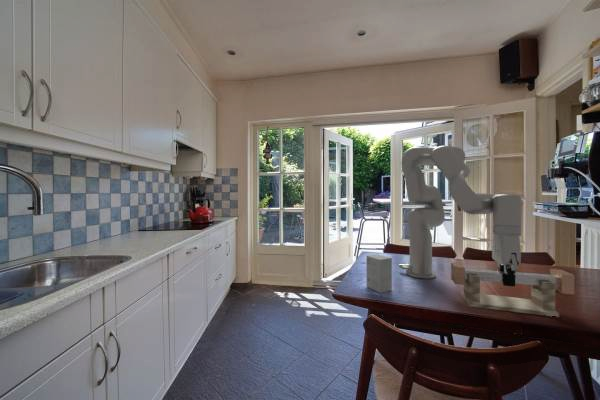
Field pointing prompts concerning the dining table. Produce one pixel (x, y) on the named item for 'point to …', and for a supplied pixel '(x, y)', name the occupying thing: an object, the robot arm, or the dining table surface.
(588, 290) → the dining table surface
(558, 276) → the steel bar
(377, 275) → the small box
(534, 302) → the hanger stand
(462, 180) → the robot arm
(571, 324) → the dining table surface
